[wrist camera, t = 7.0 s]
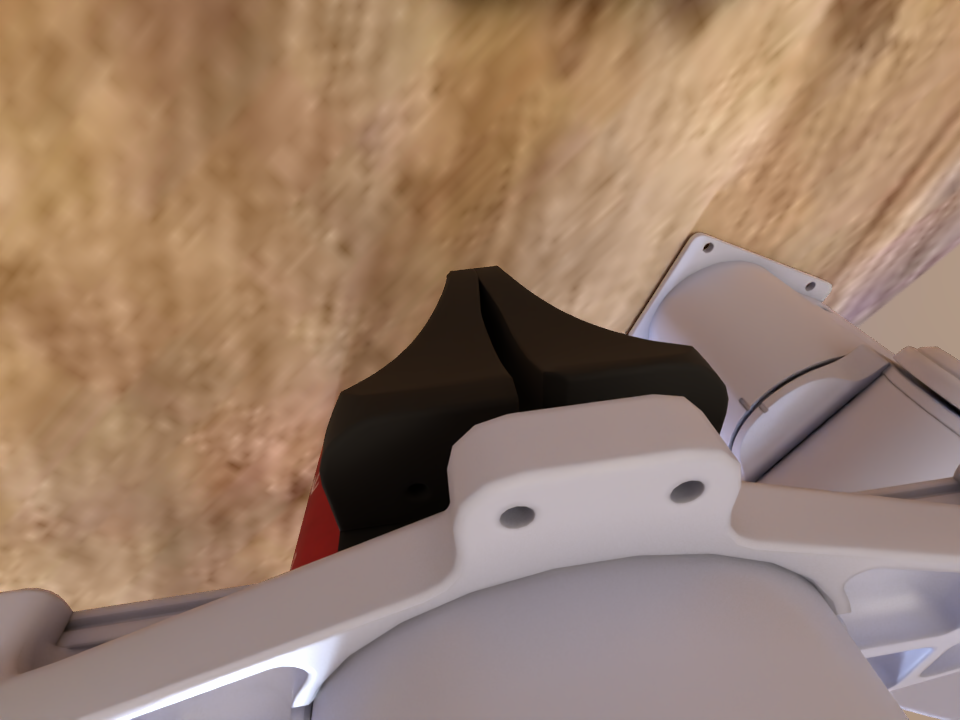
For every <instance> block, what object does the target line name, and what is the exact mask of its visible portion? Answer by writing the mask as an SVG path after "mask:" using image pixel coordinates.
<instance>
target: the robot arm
mask: <svg viewBox="0 0 960 720" xmlns="http://www.w3.org/2000/svg"><path fill="white" fill-rule="evenodd" d="M708 243H710V244H709V247H708V248H707V249H704V250H703V248H704V246H705V245H706V244H708ZM809 283H810V284H809ZM808 284H809V285H808ZM807 285H808V286H807ZM806 286H807V287H806ZM831 290H832V285H831V284H830V283H829V282H827V281H826V280H823V279H820V278H818V277H815V276H813V275H810V274H808V273H805V272H802V271H800V270H797V269H795V268H792V267H790V266H787V265H784V264H782V263H779V262H777V261H774V260H772V259H769V258H766V257H764V256H761V255H759V254H756V253H753V252H751V251H748V250H746V249H743V248H741V247H738V246H735V245H733V244H730V243H728V242H725V241H723V240H720V239H717V238H715V237H712V236H710V235H707V234H705V233H700V232H699V233H696V234H694V235H692V236H691V237H690V239H689V240H688V241H687V243H686V245H685V246H684V248H683V249H682V251H681V252H680V254H679V256H678V257H677V259H676V260H675V262H674V263H673V265H672V267H671V268H670V270H669V271H668V273H667V274H666V276H665V277H664V279H663V281H662V282H661V284H660V285H659V287H658V288H657V290H656V292H655V293H654V295H653V296H652V298H651V299H650V301H649V302H648V304H647V306H646V307H645V309H644V310H643V312H642V313H641V315H640V317H639V318H638V320H637V321H636V323H635V324H634V326H633V328H632V329H631V331H630V332H629V334H628V335H625V334H621V333H618V332H614V331H611V330H608V329H605V328H602V327H599V326H596V325H593V324H590V323H588V322H585V321H582V320H580V319H578V318H576V317H574V316H572V315H569V314H567V313H565V312H563V311H561V310H559V309H557V308H556V307H554V306H552V305H550V304H549V303H547V302H545V301H544V300H542V299H541V298H539V297H538V296H536V295H535V294H533V293H532V292H530V291H529V290H527V289H526V288H525V287H523V286H522V285H521V284H519V283H518V282H517V281H516V280H514V279H513V278H512V277H510V276H509V275H508V274H507V273H506V272H504V271H503V270H502V269H501V268H499V267H498V266H492V267H483V268H475V269H466V270H457V271H450V272H449V274H448V275H447V279H446V284H445V287H444V290H443V293H442V295H441V297H440V299H439V302H438V304H437V306H436V308H435V310H434V312H433V313H432V315H431V317H430V318H429V320H428V322H427V323H426V325H425V326H424V328H423V329H422V331H421V332H420V333H419V335H418V336H417V337H416V338H415V339H414V341H413V342H412V343H411V344H410V345H409V346H408V347H407V348H406V349H405V350H404V351H403V352H402V353H401V354H400V355H399V356H398V357H397V358H395V359H394V360H393V361H392V362H390V363H389V364H388V365H386V366H385V367H384V368H382V369H381V370H379V371H378V372H376V373H375V374H373V375H372V376H370V377H368V378H367V379H365V380H363V381H361V382H359V383H358V384H356V385H354V386H352V387H350V388H348V389H346V390H344V391H342V392H341V393H340V395H339V398H338V400H337V402H336V405H335V408H334V410H333V413H332V416H331V418H330V421H329V424H328V427H327V430H326V434H325V438H324V443H323V449H322V456H321V462H320V468H319V473H320V478H321V484H322V487H323V490H324V492H325V495H326V497H327V500H328V502H329V505H330V507H331V510H332V512H333V515H334V517H335V520H336V522H337V525H338V528H339V530H340V535H339V544H338V552H337V553H335V554H332V555H330V556H327V557H324V558H322V559H319V560H317V561H314V562H312V563H309V564H306V565H304V566H301V567H299V568H296V569H294V570H291V571H288V572H286V573H283V574H281V575H278V576H276V577H273V578H270V579H268V580H265V581H263V582H260V583H258V584H252V585H245V586H239V587H232V588H226V589H219V590H212V591H206V592H199V593H193V594H186V595H180V596H173V597H167V598H160V599H154V600H147V601H141V602H134V603H128V604H121V605H115V606H108V607H102V608H95V609H89V610H82V611H76V612H73V611H72V610H71V608H70V607H69V606H68V604H67V603H66V602H65V601H64V600H63V599H62V598H61V597H60V596H59V595H57V594H55V593H53V592H51V591H48V590H44V589H39V588H26V589H19V590H13V591H6V592H0V720H909V719H908V718H907V716H906V715H905V713H904V712H903V710H902V709H904V710H907V711H911V712H915V713H919V714H922V715H926V716H929V717H934V718H937V719H942V720H960V361H959V360H958V359H956V358H955V357H953V356H951V355H950V354H948V353H947V352H945V351H944V350H942V349H940V348H939V347H920V348H918V349H916V348H914V347H910V346H909V347H905V348H903V349H902V350H901V351H900V352H899V353H897V354H896V355H895V354H893V353H892V352H891V351H889V350H888V349H886V348H885V347H884V346H882V345H881V344H879V343H878V342H877V341H875V340H874V339H872V338H871V337H869V336H868V335H867V334H865V333H864V332H863V331H861V330H860V329H858V328H857V327H856V326H854V325H853V324H851V323H850V322H849V321H847V320H846V319H844V318H843V317H842V316H840V315H839V314H837V313H836V312H835V311H833V310H832V309H830V308H829V307H828V306H826V305H825V304H823V303H822V302H823V301H824V300H825V298H826V297H827V296H828V295H829V294H830V292H831Z"/></svg>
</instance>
